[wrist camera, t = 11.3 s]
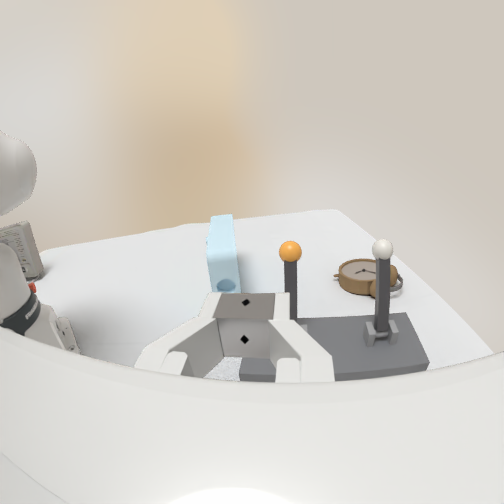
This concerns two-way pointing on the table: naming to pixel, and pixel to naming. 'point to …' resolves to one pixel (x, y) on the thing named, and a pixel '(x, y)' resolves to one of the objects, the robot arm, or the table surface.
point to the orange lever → (291, 273)
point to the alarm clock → (364, 277)
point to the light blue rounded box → (222, 255)
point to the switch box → (354, 349)
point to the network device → (23, 248)
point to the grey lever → (382, 286)
